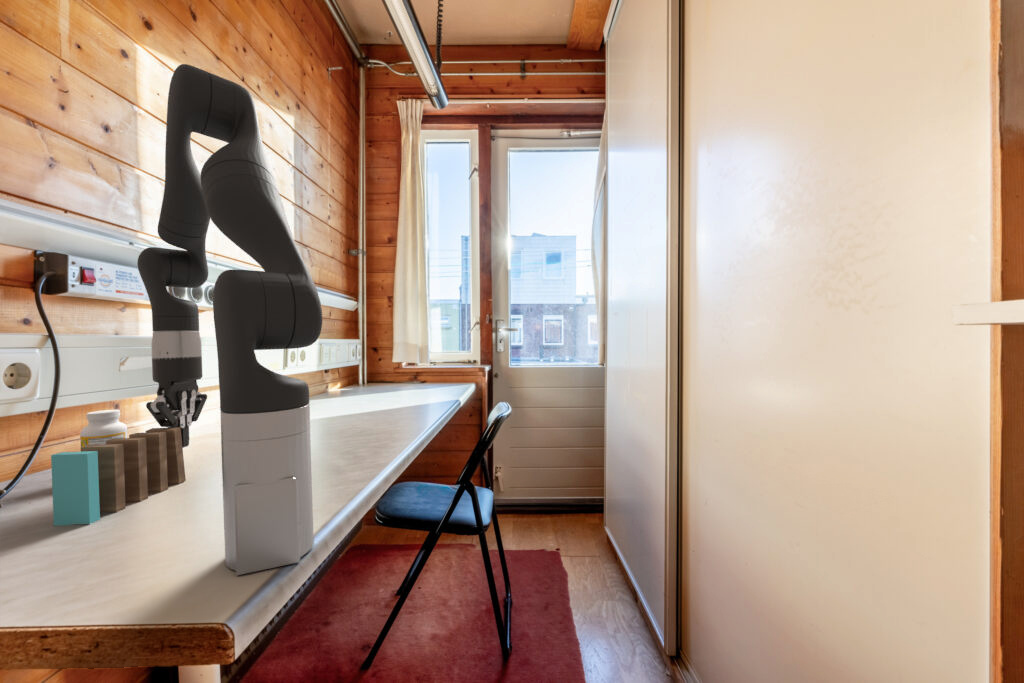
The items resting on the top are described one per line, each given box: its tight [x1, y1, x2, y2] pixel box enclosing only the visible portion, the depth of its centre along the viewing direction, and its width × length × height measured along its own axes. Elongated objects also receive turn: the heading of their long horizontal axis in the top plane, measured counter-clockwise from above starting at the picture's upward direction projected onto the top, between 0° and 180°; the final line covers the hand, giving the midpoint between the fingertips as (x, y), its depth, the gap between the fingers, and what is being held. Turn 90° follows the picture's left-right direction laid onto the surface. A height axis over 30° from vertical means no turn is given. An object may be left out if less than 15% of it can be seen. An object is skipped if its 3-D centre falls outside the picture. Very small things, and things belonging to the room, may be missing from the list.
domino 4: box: [128, 432, 169, 494], centre depth 77 cm, size 2×5×10 cm, turn 91°
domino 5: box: [145, 427, 186, 485], centre depth 81 cm, size 2×5×10 cm, turn 91°
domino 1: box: [50, 451, 101, 527], centre depth 64 cm, size 2×5×10 cm, turn 91°
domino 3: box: [106, 437, 149, 503], centre depth 72 cm, size 2×5×10 cm, turn 91°
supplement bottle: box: [79, 409, 128, 448], centre depth 85 cm, size 7×7×13 cm
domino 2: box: [80, 444, 126, 514], centre depth 68 cm, size 2×5×10 cm, turn 91°
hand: (180, 447), depth 84 cm, fingers closed
